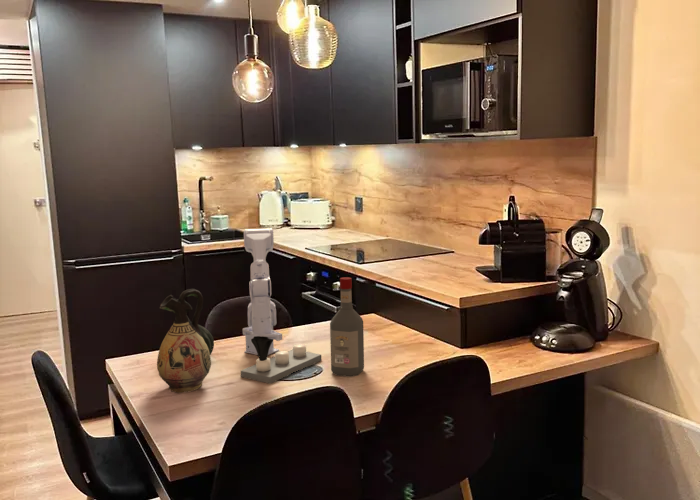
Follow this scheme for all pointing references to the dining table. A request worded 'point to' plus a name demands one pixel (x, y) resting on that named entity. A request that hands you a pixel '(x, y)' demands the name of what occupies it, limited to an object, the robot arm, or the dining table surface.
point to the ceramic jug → (183, 346)
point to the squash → (207, 338)
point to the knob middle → (282, 357)
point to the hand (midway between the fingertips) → (263, 359)
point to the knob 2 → (299, 350)
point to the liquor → (347, 336)
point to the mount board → (281, 368)
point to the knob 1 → (263, 365)
